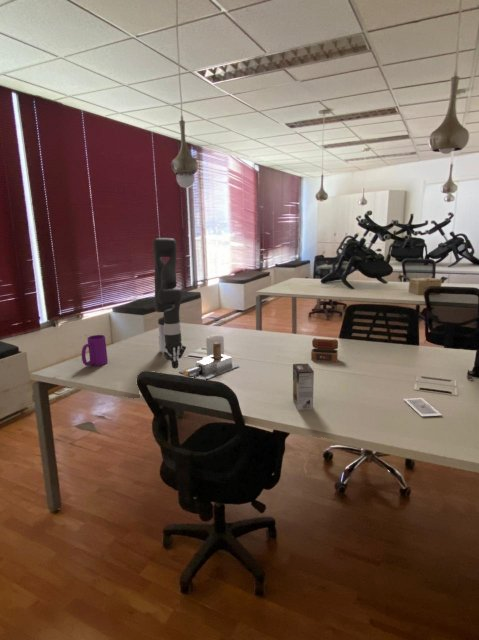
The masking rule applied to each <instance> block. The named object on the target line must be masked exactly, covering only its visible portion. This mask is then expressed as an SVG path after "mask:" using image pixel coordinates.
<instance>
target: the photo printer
mask: <svg viewBox="0 0 479 640" xmlns="http://www.w3.org/2000/svg"><path fill="white" fill-rule="evenodd" d="M224 339H225V338H224V335H222V334H219V333H218V334H217V333H215V334H210V335H209V336H207V337H206V340H205V342H206V357H207V356H210V355H213V343H216V342H218V343H221V354H223V355H225V343H224Z"/></svg>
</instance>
